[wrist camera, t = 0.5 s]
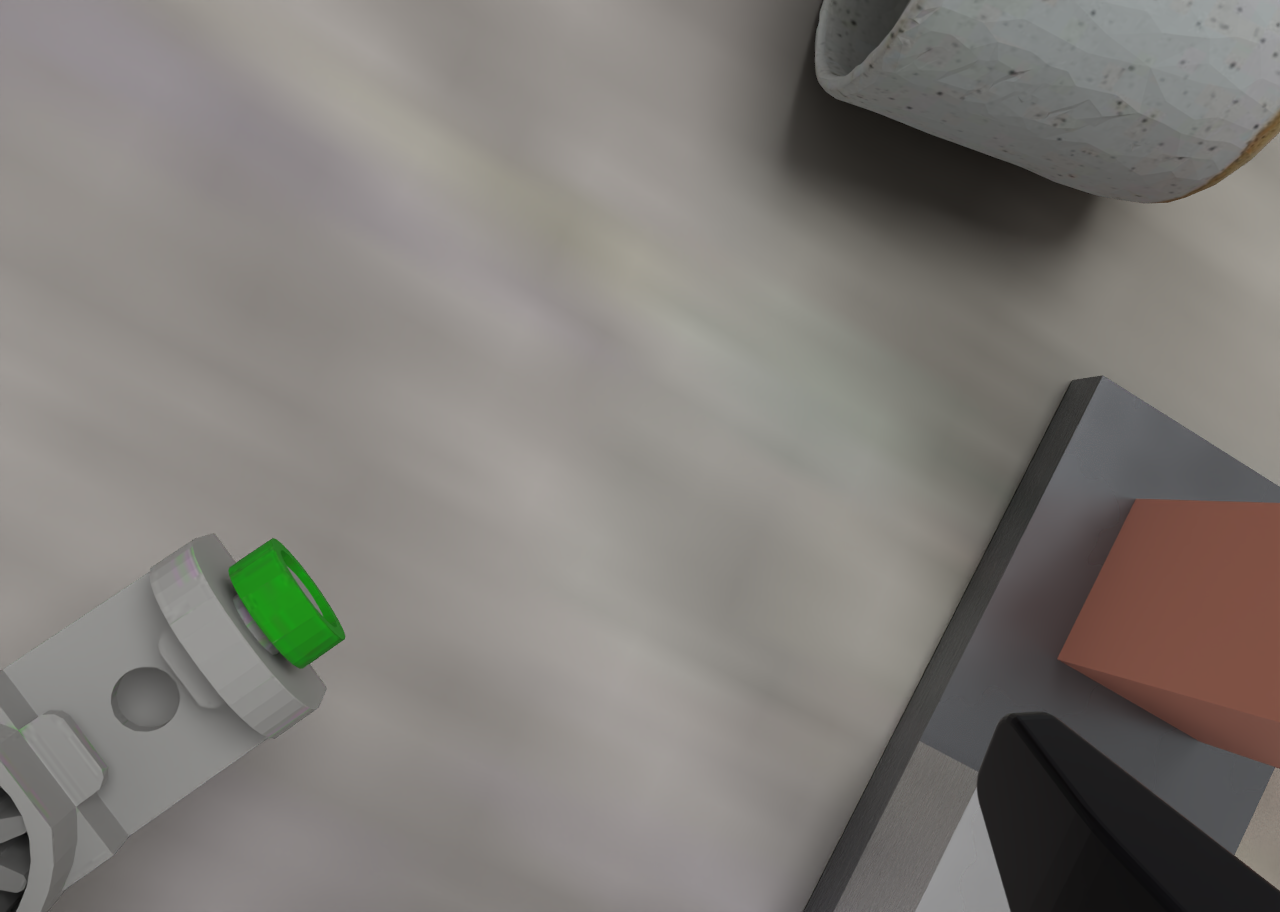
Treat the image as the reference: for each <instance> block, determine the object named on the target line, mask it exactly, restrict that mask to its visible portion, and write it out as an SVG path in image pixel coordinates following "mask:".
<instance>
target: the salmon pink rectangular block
mask: <svg viewBox="0 0 1280 912" xmlns="http://www.w3.org/2000/svg"><path fill="white" fill-rule="evenodd" d="M1057 659H1058V660H1059V661H1061V662H1063V663H1065V664H1066V665H1068V666H1070V667H1072V668H1073V669H1075V670H1077V671H1078V672H1080V673H1082V674H1084V675H1085V676H1087V677H1089V678H1091V679H1092V680H1094V681H1096V682H1098V683H1099V684H1101V685H1103V686H1104V687H1106V688H1108V689H1110V690H1111V691H1113V692H1115V693H1117V694H1118V695H1120V696H1122V697H1124V698H1125V699H1127V700H1129V701H1130V702H1132V703H1134V704H1136V705H1137V706H1139V707H1141V708H1143V709H1144V710H1146V711H1148V712H1149V713H1151V714H1153V715H1155V716H1156V717H1158V718H1160V719H1162V720H1163V721H1165V722H1167V723H1169V724H1170V725H1172V726H1174V727H1175V728H1177V729H1179V730H1181V731H1182V732H1184V733H1186V734H1188V735H1189V736H1191V737H1193V738H1195V739H1196V740H1198V741H1200V742H1202V743H1205V744H1208V745H1211V746H1214V747H1217V748H1220V749H1223V750H1226V751H1229V752H1232V753H1235V754H1238V755H1241V756H1244V757H1247V758H1250V759H1253V760H1256V761H1259V762H1262V763H1265V764H1268V765H1270V766H1273V767H1276V768H1279V769H1280V503H1264V502H1230V501H1196V500H1162V499H1136V500H1135V502H1134V504H1133V506H1132V508H1131V510H1130V512H1129V514H1128V516H1127V518H1126V520H1125V522H1124V524H1123V526H1122V528H1121V530H1120V532H1119V534H1118V536H1117V538H1116V540H1115V542H1114V544H1113V546H1112V548H1111V550H1110V552H1109V555H1108V557H1107V559H1106V561H1105V563H1104V565H1103V567H1102V569H1101V571H1100V573H1099V575H1098V577H1097V579H1096V581H1095V583H1094V585H1093V587H1092V589H1091V591H1090V593H1089V595H1088V597H1087V599H1086V601H1085V603H1084V605H1083V607H1082V609H1081V611H1080V613H1079V615H1078V617H1077V619H1076V622H1075V624H1074V626H1073V628H1072V630H1071V632H1070V634H1069V636H1068V638H1067V640H1066V642H1065V644H1064V646H1063V648H1062V650H1061V652H1060V654H1059V656H1058V658H1057Z"/></svg>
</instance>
